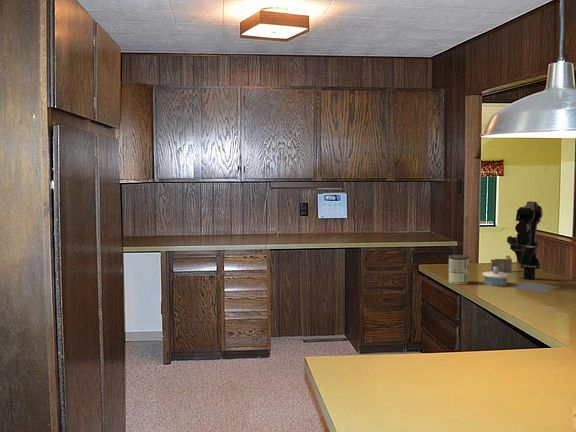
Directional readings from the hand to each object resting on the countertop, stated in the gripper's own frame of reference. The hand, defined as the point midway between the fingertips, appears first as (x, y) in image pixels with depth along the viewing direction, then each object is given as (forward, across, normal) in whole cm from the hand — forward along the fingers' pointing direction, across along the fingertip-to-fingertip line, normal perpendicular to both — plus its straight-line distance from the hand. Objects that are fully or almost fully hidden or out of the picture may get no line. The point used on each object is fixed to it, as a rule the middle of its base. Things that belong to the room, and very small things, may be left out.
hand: (524, 261), depth 305 cm
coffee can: (+12, +18, -27) cm, 35 cm away
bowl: (+12, +10, -10) cm, 19 cm away
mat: (+12, +3, +7) cm, 14 cm away
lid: (+7, +10, -10) cm, 16 cm away
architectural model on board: (+13, -25, -27) cm, 39 cm away
